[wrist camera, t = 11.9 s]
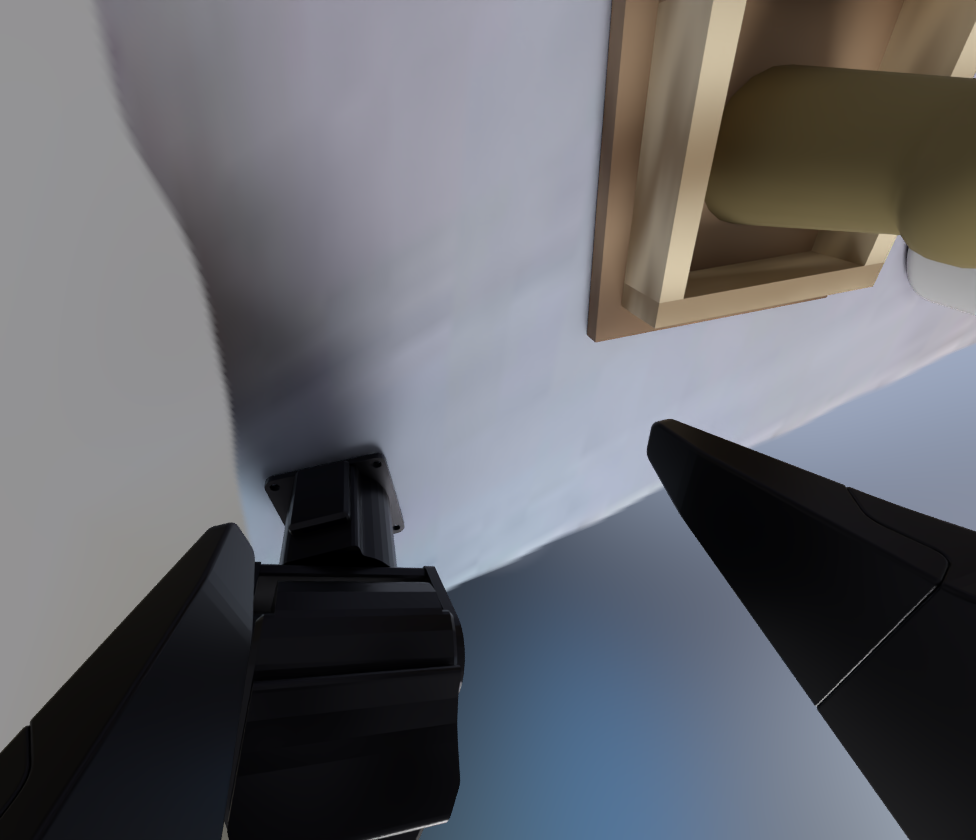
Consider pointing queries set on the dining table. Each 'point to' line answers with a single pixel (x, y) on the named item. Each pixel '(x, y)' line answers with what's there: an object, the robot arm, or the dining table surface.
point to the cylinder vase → (942, 283)
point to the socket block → (692, 140)
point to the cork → (852, 156)
